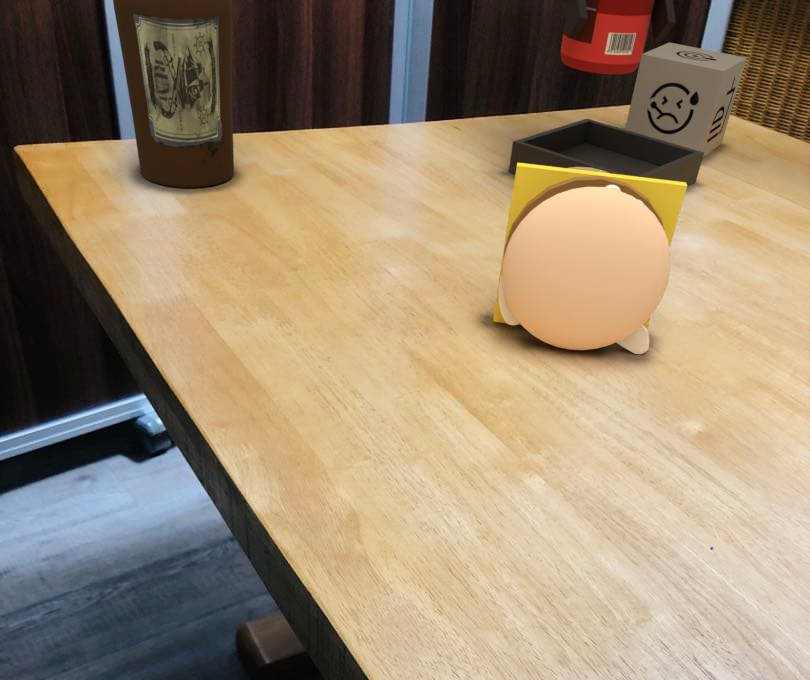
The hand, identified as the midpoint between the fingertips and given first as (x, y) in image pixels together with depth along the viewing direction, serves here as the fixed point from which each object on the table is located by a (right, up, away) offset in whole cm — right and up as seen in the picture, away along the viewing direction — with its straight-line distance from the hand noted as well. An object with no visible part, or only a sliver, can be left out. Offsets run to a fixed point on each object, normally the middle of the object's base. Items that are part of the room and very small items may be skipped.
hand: (621, 30), depth 79 cm
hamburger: (-7, -31, -11) cm, 33 cm away
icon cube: (+15, +4, +32) cm, 36 cm away
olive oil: (-42, -9, +11) cm, 44 cm away
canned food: (-1, -1, +5) cm, 5 cm away
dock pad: (+3, -5, +20) cm, 21 cm away
